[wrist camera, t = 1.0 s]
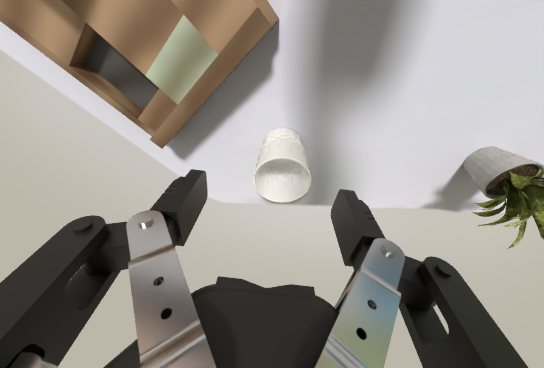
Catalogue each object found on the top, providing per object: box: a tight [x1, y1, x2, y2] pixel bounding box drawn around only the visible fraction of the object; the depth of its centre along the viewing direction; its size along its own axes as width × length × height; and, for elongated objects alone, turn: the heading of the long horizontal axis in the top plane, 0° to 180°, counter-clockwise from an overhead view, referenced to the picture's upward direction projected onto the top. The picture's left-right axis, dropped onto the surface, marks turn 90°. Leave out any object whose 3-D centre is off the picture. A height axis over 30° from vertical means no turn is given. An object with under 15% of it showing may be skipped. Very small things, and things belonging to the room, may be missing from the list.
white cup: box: [253, 128, 311, 203], centre depth 30 cm, size 8×8×10 cm
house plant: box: [463, 147, 544, 248], centre depth 27 cm, size 14×14×16 cm
